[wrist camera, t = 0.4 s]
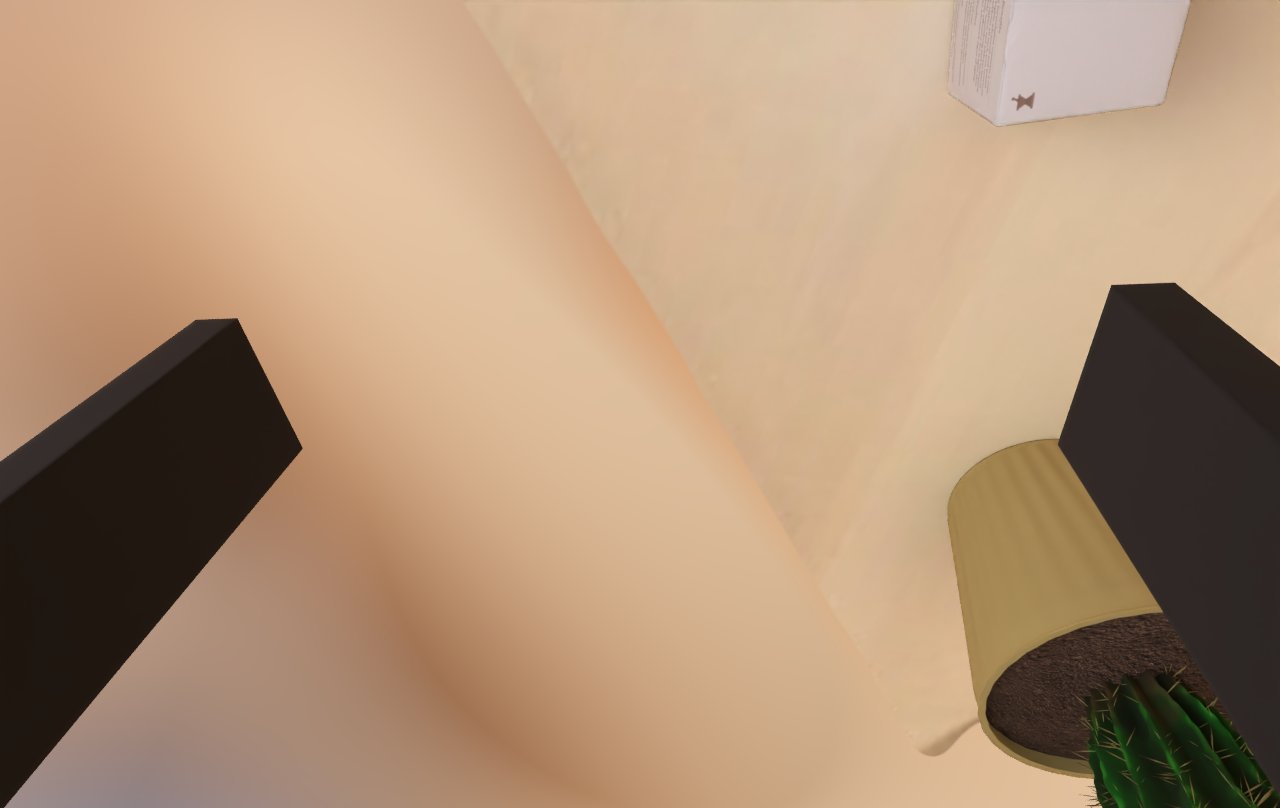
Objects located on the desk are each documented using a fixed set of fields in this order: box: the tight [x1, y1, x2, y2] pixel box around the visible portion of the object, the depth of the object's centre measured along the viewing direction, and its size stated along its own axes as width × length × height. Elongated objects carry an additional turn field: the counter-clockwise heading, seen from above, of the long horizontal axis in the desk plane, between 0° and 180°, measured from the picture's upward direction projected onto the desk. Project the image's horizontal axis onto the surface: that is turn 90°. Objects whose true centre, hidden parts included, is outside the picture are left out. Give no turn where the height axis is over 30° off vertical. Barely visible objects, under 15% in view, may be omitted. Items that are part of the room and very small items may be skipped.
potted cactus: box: [948, 439, 1280, 808], centre depth 33 cm, size 15×15×30 cm
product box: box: [948, 0, 1191, 127], centre depth 27 cm, size 6×6×7 cm
